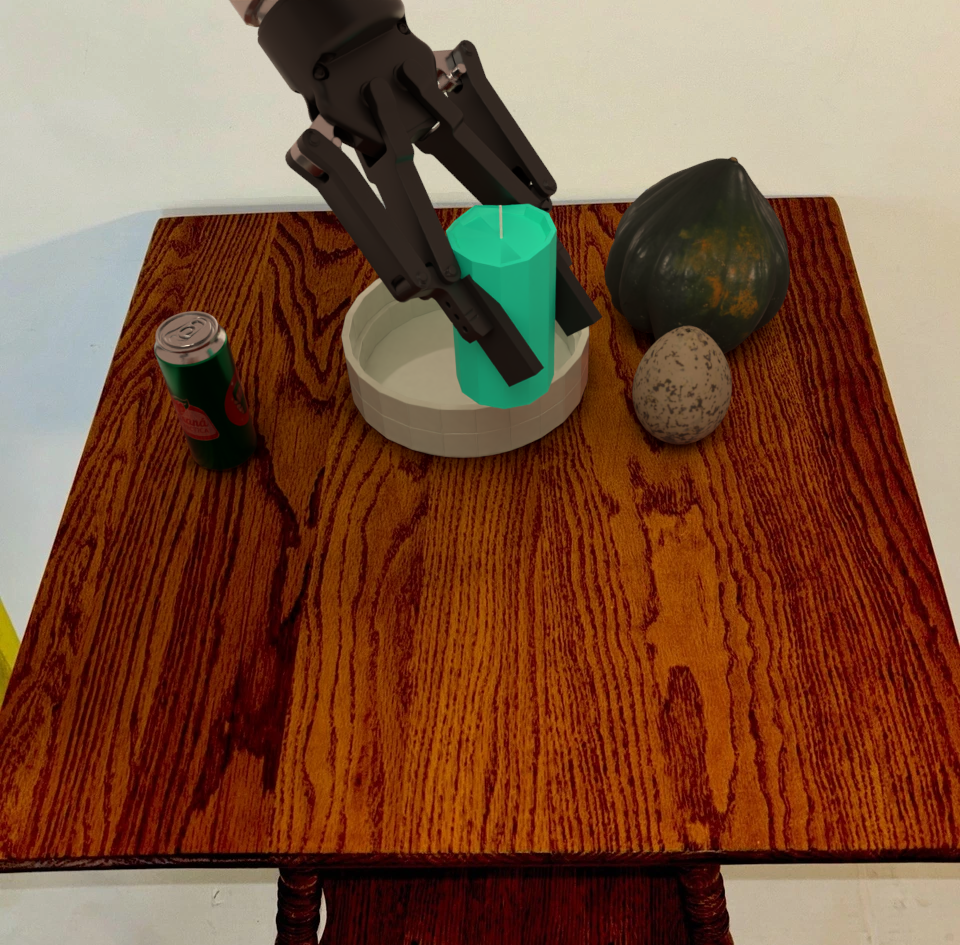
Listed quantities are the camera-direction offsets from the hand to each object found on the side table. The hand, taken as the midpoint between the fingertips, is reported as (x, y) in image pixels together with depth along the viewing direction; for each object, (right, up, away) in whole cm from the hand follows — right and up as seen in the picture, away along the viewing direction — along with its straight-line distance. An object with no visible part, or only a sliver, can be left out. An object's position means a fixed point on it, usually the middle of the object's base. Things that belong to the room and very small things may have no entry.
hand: (555, 350), depth 59 cm
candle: (-3, -1, +5) cm, 6 cm away
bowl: (-5, +1, +26) cm, 26 cm away
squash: (+13, +6, +29) cm, 33 cm away
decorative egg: (+11, -4, +20) cm, 23 cm away
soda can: (-24, -5, +21) cm, 32 cm away
